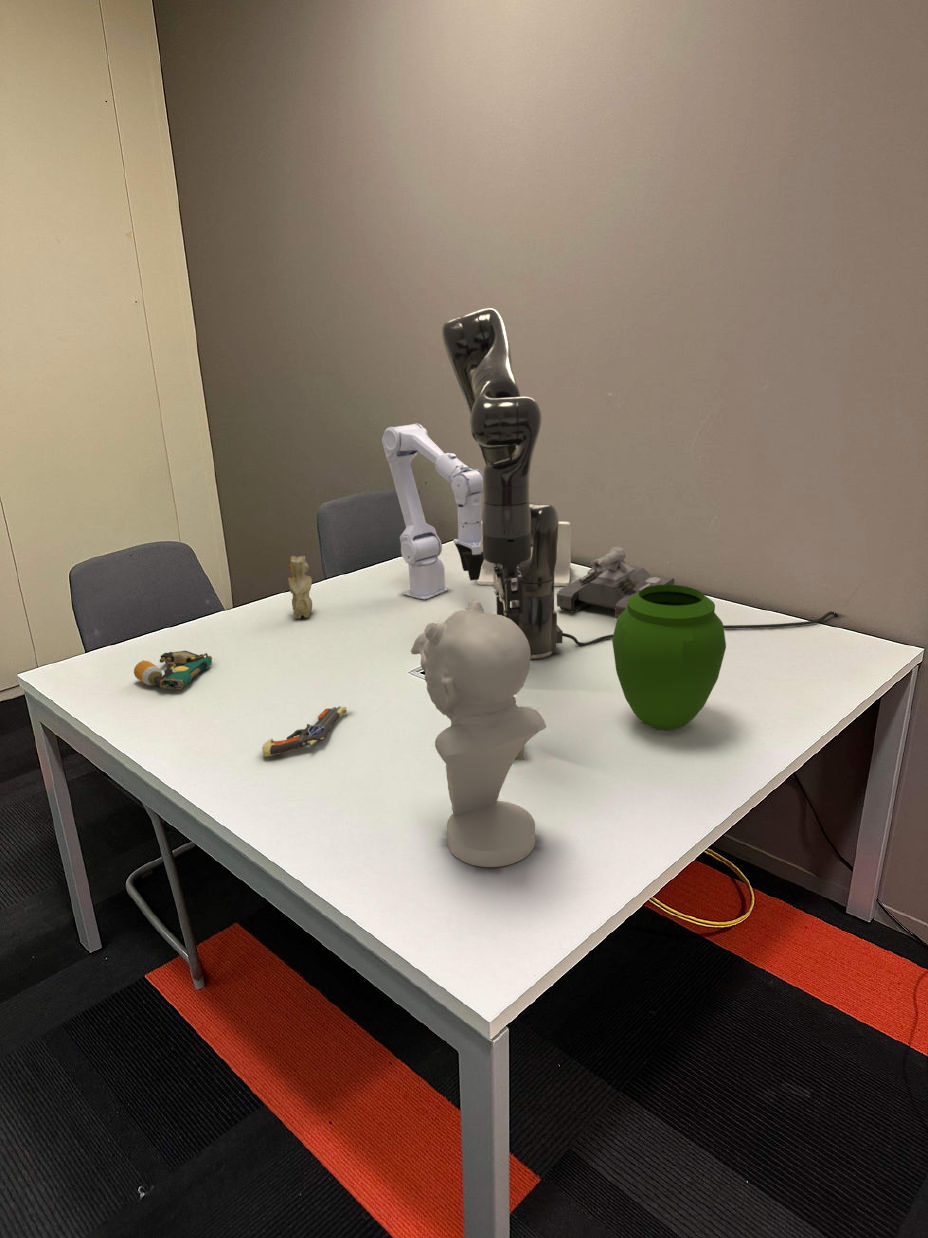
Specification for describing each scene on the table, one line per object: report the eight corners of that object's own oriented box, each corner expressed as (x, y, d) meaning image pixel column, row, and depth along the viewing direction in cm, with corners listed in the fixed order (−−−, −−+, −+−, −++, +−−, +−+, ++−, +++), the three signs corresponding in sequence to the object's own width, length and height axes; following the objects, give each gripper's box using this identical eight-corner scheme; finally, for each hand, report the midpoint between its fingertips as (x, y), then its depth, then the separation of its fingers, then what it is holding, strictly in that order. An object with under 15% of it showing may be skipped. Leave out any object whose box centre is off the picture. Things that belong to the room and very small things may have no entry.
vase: (732, 711, 158) (744, 587, 150) (698, 758, 143) (709, 622, 134) (633, 689, 168) (638, 571, 159) (591, 730, 153) (595, 602, 144)
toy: (603, 584, 229) (605, 530, 224) (673, 597, 218) (677, 540, 213) (555, 612, 210) (556, 553, 205) (630, 627, 199) (633, 566, 194)
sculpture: (316, 609, 217) (311, 553, 212) (313, 619, 210) (307, 561, 205) (293, 610, 217) (287, 554, 211) (289, 620, 210) (283, 562, 205)
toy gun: (257, 746, 146) (311, 744, 144) (298, 704, 164) (347, 701, 161) (260, 761, 146) (314, 759, 144) (300, 717, 164) (349, 715, 162)
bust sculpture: (481, 772, 140) (476, 569, 128) (565, 848, 120) (569, 617, 108) (392, 800, 134) (378, 588, 121) (465, 886, 114) (457, 642, 101)
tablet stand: (569, 585, 229) (570, 524, 223) (476, 584, 232) (475, 523, 226) (570, 566, 246) (571, 508, 240) (484, 564, 249) (483, 507, 243)
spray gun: (177, 659, 191) (231, 671, 185) (120, 684, 176) (176, 698, 171) (176, 641, 190) (230, 653, 184) (118, 665, 175) (174, 678, 169)
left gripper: (447, 515, 211) (449, 567, 216) (459, 529, 198) (461, 585, 203) (475, 513, 213) (476, 565, 217) (489, 527, 199) (490, 582, 204)
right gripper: (476, 519, 139) (479, 613, 144) (489, 543, 125) (491, 645, 131) (522, 517, 139) (522, 610, 145) (539, 540, 126) (539, 641, 132)
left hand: (471, 574), depth 210 cm, fingers open, 7 cm apart
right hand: (507, 626), depth 138 cm, fingers open, 8 cm apart
